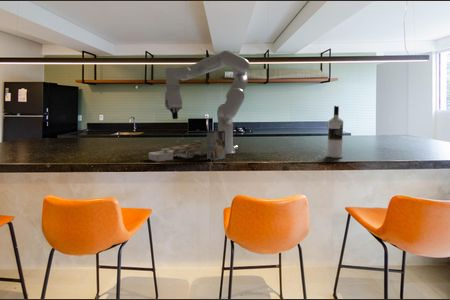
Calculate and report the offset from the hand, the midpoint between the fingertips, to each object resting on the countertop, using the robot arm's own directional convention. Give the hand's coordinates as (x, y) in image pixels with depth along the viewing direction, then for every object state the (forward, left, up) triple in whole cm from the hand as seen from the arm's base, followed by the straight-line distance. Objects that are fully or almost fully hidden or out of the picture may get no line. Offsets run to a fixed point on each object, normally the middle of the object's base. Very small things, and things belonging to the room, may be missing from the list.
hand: (175, 118), depth 189 cm
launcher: (-1, +5, -18) cm, 19 cm away
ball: (+19, +9, -20) cm, 29 cm away
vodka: (-63, +72, -23) cm, 98 cm away
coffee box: (-8, +29, -23) cm, 38 cm away
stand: (-1, +7, -22) cm, 23 cm away
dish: (+16, +9, -22) cm, 29 cm away
